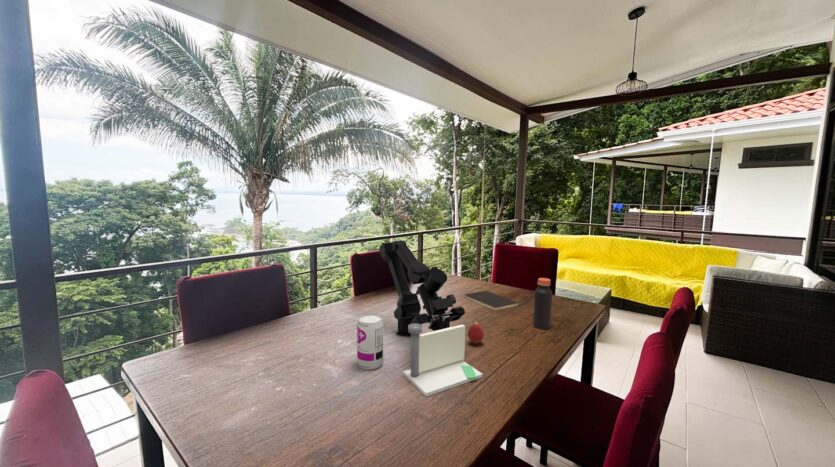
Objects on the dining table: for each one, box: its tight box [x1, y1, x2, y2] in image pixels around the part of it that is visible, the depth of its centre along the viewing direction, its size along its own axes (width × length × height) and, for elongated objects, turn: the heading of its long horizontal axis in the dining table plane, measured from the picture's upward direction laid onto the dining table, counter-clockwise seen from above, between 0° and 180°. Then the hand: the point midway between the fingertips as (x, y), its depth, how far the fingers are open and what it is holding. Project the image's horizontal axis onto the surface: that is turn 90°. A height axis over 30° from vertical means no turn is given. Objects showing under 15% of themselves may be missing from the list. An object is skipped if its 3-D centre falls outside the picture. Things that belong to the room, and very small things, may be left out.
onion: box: [467, 321, 485, 345], centre depth 125 cm, size 6×6×8 cm
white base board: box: [402, 359, 484, 397], centre depth 103 cm, size 20×14×1 cm
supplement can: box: [356, 314, 384, 371], centre depth 108 cm, size 8×8×15 cm
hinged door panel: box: [408, 323, 466, 377], centre depth 104 cm, size 20×4×15 cm, turn 121°
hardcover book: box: [464, 290, 520, 311], centre depth 174 cm, size 16×23×2 cm
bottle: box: [532, 277, 553, 330], centre depth 141 cm, size 7×7×20 cm
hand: (448, 341), depth 110 cm, fingers closed
